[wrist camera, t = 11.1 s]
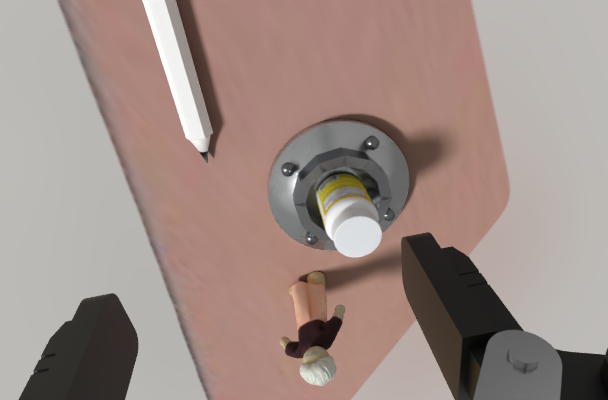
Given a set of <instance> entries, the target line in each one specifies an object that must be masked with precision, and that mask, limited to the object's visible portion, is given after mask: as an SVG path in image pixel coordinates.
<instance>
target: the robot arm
mask: <svg viewBox="0 0 608 400" xmlns="http://www.w3.org/2000/svg"><path fill="white" fill-rule="evenodd" d="M401 249H402V278H403V285H404V290H405V294H406V297H407V299H408V302H409V304H410V306H411V308H412V310H413V312H414V314H415V316H416V319H417V321H418V323H419V325H420V327H421V329H422V331H423V333H424V335H425V338H426V340H427V342H428V344H429V346H430V348H431V350H432V352H433V354H434V357H435V359H436V361H437V363H438V365H439V367H440V369H441V371H442V373H443V376H444V378H445V380H446V382H447V384H448V386H449V388H450V390H451V392H452V395H453V397H454V399H455V400H608V349H607V352H606V355H601V354H589V353H576V352H567V351H561V350H557V349H554V348H553V347H552V346H551V345H550V344H549V343H548V342H547V341H545V340H544V339H542V338H541V337H539V336H537V335H534V334H532V333H529V332H526V331H524V330H523V329H522V328H521V327H520V325H519V324H518V323H517V321H516V320H515V319H514V317H513V316H512V315H511V313H510V312H509V311H508V309H507V308H506V307H505V305H504V304H503V303H502V301H501V300H500V298H499V297H498V296H497V294H496V293H495V292H494V290H493V289H492V288H491V287H490V285H488V284H487V281H486V280H485V278H484V277H483V276H482V274H481V273H479V271H478V269H477V268H476V266H475V265H474V264H473V262H472V261H471V260H470V258H469V257H468V256H466V255H465V254H463V253H462V252H460V251H459V250H457V249H455V248H454V247H447V248H442V249H441V248H440V246H439V245H438V243H437V242H436V240H435V239H434V237H433V236H432V234H431V233H429V232H427V233H422V234H417V235H412V236H407V237H403V238H402V241H401ZM137 353H138V337H137V333H136V331H135V328H134V327H133V325H132V323H131V321H130V319H129V317H128V315H127V313H126V311H125V310H124V308H123V306H122V304H121V302H120V301H119V298H118V297H117V296H116V295H115V294H113V293H112V294H106V295H101V296H96V297H91V298H86V299H84V300H82V301H81V303H80V305H79V307H78V309H77V311H76V313H75V315H74V317H73V319H72V321H67V322H65V323H64V324H63V325H62V326H61V327H60V329H59V330H58V331H57V332H56V333H55V334H54V335H53V336H52V337H51V338H50V340H49V342H48V344H47V346H46V348H45V350H44V351H43V353H42V355H41V360H39V361H38V363H37V365H36V367H35V369H34V374H33V375H31V377H30V379H29V381H28V383H27V385H26V387H25V388H24V391H23V392H22V394H21V396H20V398H19V400H125V397H126V394H127V390H128V387H129V383H130V379H131V375H132V372H133V368H134V365H135V361H136V357H137Z"/></svg>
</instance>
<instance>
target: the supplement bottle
mask: <svg viewBox="0 0 608 400" xmlns="http://www.w3.org/2000/svg"><path fill="white" fill-rule="evenodd" d="M316 199H317V203H318V206H319V210H320V213H321V216H322V220H323V223H324V227H325V230H326V233H327V235H328V236H329V237H330V239H331V240H333V241H334V244H335V246H336V248H337V250H338V251H339V252H340V253H342V254H344V255H346V256H349V257H362V256H365V255H367V254H369V253H371V252H372V251H374V250H375V249H376V248H377V247H378V245H379V243H380V241H381V238H382V230H381V227H380V224H379V216H378V212H377V210H376V207H375V206H374V204H373V202H372V200H371V199H370V197H369V195H368V193H367V191H366V189H365V188H364V186H363V184H362V182H361V180H360V179H359V178H358V177H357V176H356V175H355V174H353V173H351V172H349V171H334V172H331V173H329V174H327V175H326V176H325V177H323V178H322V179H321V181H320V182H319V184H318V186H317V189H316Z"/></svg>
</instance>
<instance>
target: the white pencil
mask: <svg viewBox="0 0 608 400" xmlns="http://www.w3.org/2000/svg"><path fill="white" fill-rule="evenodd" d="M143 3H144V6H145V10H146V13H147V16H148V19H149V22H150V25H151V29H152V32H153V35H154V38H155V41H156V44H157V47H158V51H159V54H160V57H161V60H162V63H163V66H164V70H165V73H166V76H167V79H168V82H169V85H170V89H171V92H172V95H173V98H174V101H175V104H176V107H177V111H178V114H179V117H180V120H181V123H182V126H183V130H184V133H185V136H186V138H187V139H189V140H190V141H191V142H192V143H193V144H194V146H195V147H196V148H197V149H198V150H199V152H200V153H201V155H202V156H203V158H204V159H205V160H206V162H207V163H208V147H209V141H210V136H211V134H213V131H212V127H211V124H210V120H209V117H208V113H207V109H206V106H205V102H204V99H203V95H202V92H201V88H200V85H199V81H198V77H197V74H196V70H195V67H194V63H193V60H192V56H191V53H190V49H189V45H188V42H187V38H186V35H185V31H184V28H183V24H182V21H181V17H180V13H179V10H178V6H177V3H176V0H143Z"/></svg>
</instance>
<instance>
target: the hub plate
mask: <svg viewBox="0 0 608 400" xmlns="http://www.w3.org/2000/svg"><path fill="white" fill-rule="evenodd" d="M334 171H349V172H351V173H353V174H355V175H356V176H357V177H358V178H359V179H360V180H361V182H362V184H363V186H364V188H365V189H366V191H367V193H368V195H369V197H370V199H371V200H372V202H373V204H374V206H375V207H376V210H377V212H378V216H379V224H380V227H381V230H382V233H383V232H384V231H385V230H386V229H387V228H388V227H389V226H390V225H391V224H392V223H393V222H394V221H395V219H396V218H397V217H398V215H399V214H400V212H401V210H402V208H403V206H404V204H405V202H406V199H407V195H408V190H409V170H408V166H407V163H406V160H405V158H404V156H403V154H402V152H401V151H400V149H399V148H398V146H397V145H396V144H395V143H394V142H393V140H392V139H391V138H390V137H389V136H388V135H387V134H385V133H384V132H383V131H382V130H380V129H378V128H377V127H375V126H373V125H371V124H368V123H366V122H362V121H358V120H352V119H334V120H327V121H324V122H320V123H317V124H314V125H312V126H309V127H308V128H306V129H304V130H302V131H301V132H299V133H298V134H296V135H295V136H294V137H292V138H291V139H290V140H289V141H288V142H287V143H286V144H285V145H284V147H283V148H282V149H281V150H280V152H279V153H278V155H277V157H276V158H275V160H274V163H273V165H272V168H271V171H270V174H269V181H268V196H269V203H270V207H271V211H272V214H273V216H274V218H275V220H276V221H277V223H278V224H279V226H280V227H281V228H282V229H283V230H284V232H285V233H287V234H288V235H289V236H290V237H291V238H293V239H294V240H296V241H298V242H299V243H301V244H304V245H306V246H309V247H312V248H316V249H321V250H337V248H336V246H335V244H334V241H333V240H331V239H330V237H329V236H328V235H327V233H326V230H325V227H324V223H323V220H322V216H321V213H320V210H319V206H318V203H317V199H316V189H317V186H318V184H319V182H320V181H321V179H322V178H323V177H325V176H326V175H327V174H329V173H331V172H334Z"/></svg>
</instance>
